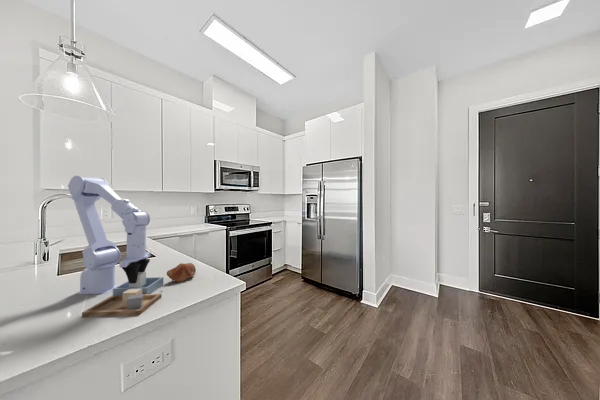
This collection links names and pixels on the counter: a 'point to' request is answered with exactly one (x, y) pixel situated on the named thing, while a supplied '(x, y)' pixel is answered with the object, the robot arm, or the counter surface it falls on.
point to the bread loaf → (182, 272)
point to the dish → (148, 288)
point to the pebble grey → (139, 280)
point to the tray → (119, 306)
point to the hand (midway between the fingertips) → (136, 281)
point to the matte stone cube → (135, 301)
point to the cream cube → (129, 293)
